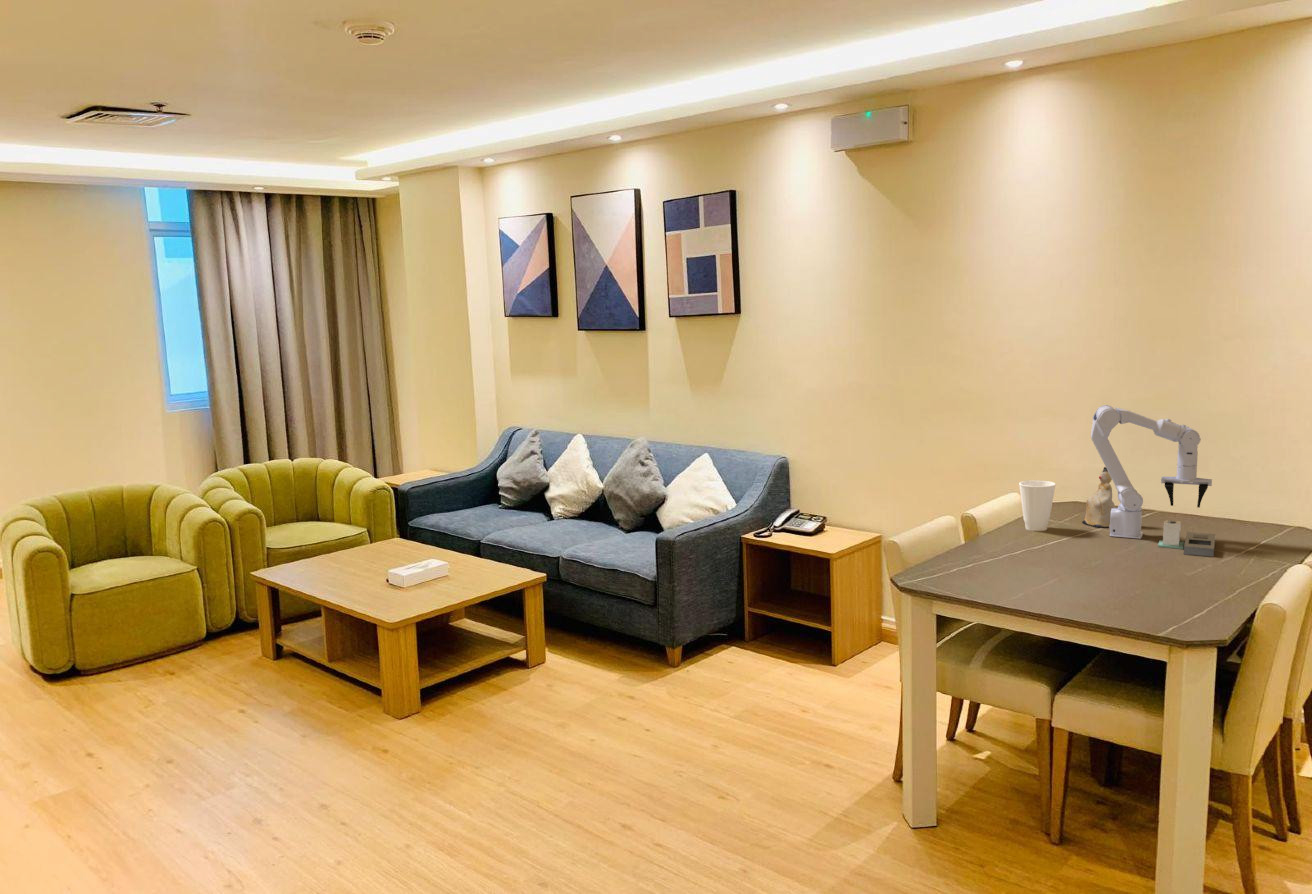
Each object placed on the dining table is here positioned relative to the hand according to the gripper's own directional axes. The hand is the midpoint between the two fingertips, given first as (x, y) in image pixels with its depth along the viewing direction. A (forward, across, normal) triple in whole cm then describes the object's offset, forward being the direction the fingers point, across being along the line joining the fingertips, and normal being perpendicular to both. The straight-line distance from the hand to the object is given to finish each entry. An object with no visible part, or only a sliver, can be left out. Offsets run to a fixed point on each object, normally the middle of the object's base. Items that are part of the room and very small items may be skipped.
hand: (1185, 506), depth 326 cm
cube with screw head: (+10, -3, -13) cm, 17 cm away
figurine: (+11, -26, +10) cm, 30 cm away
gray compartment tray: (+10, +5, -13) cm, 17 cm away
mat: (+10, -3, -13) cm, 17 cm away
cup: (+11, -45, -5) cm, 47 cm away
